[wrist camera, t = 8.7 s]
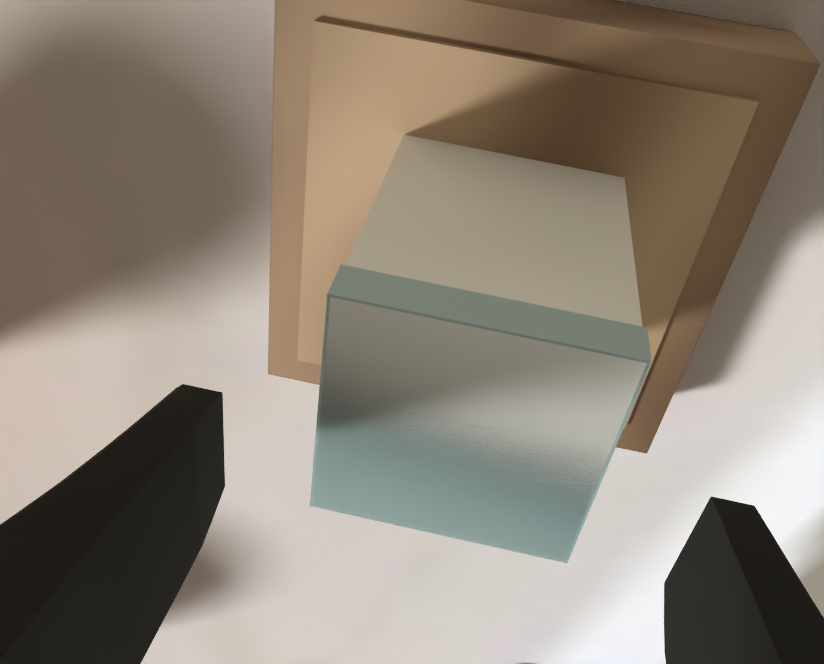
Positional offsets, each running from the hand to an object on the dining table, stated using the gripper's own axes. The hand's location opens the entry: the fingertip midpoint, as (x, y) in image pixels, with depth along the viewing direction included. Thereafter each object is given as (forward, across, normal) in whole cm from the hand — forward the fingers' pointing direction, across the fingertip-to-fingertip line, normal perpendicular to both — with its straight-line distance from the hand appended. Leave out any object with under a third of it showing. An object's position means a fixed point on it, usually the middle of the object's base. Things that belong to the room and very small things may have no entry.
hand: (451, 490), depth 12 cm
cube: (+7, 0, 0) cm, 7 cm away
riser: (+9, 0, 0) cm, 9 cm away
